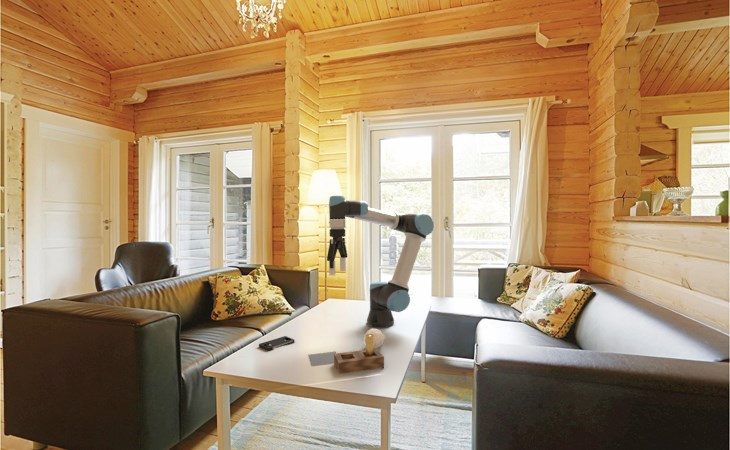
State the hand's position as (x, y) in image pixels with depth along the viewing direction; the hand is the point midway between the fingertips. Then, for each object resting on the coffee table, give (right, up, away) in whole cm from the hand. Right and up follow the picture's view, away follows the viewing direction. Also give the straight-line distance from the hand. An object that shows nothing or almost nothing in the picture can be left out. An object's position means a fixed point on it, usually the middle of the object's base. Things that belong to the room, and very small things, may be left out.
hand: (337, 273), depth 162 cm
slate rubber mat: (-4, -33, -21) cm, 39 cm away
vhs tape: (-28, -34, -3) cm, 44 cm away
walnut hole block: (+11, -33, -28) cm, 44 cm away
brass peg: (+15, -33, -27) cm, 45 cm away
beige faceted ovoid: (+18, -33, -8) cm, 38 cm away
